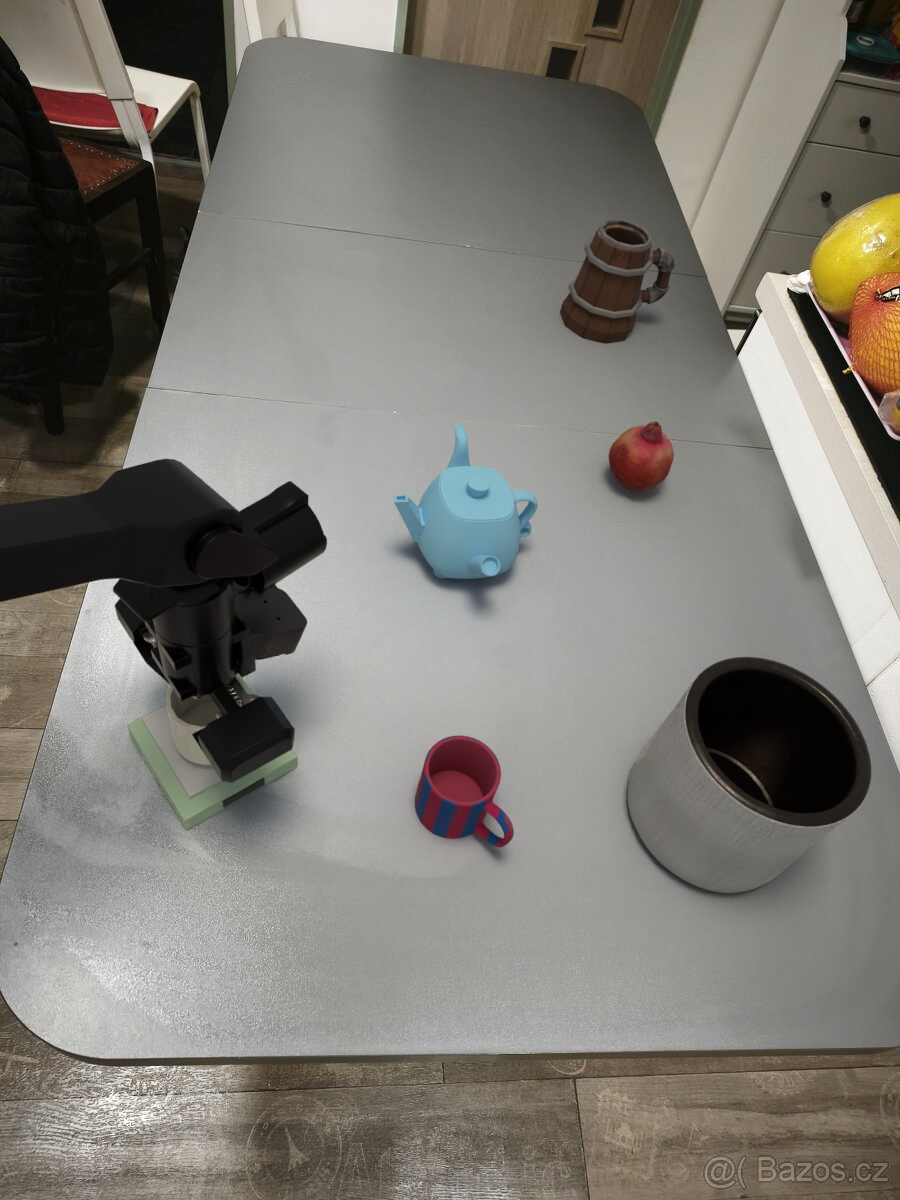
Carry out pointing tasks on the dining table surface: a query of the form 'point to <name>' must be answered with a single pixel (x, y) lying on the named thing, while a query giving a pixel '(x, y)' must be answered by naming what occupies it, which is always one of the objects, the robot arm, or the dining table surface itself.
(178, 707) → the ramekin
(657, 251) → the mug
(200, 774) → the scale
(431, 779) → the cup
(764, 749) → the planter
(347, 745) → the dining table surface
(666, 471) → the fruit
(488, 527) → the teapot
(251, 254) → the dining table surface
